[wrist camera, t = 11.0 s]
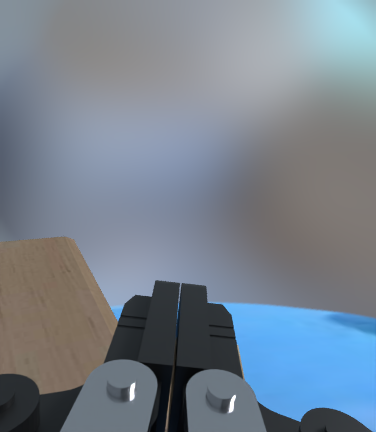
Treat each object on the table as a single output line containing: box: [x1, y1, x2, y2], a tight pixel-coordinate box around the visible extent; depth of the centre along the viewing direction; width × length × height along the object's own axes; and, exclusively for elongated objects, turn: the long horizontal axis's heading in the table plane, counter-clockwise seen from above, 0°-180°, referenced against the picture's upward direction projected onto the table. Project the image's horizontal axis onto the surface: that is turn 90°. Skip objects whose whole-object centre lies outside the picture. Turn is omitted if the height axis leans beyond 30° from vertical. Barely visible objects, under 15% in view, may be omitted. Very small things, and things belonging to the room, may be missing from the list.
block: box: [0, 237, 168, 432], centre depth 19 cm, size 10×10×20 cm
